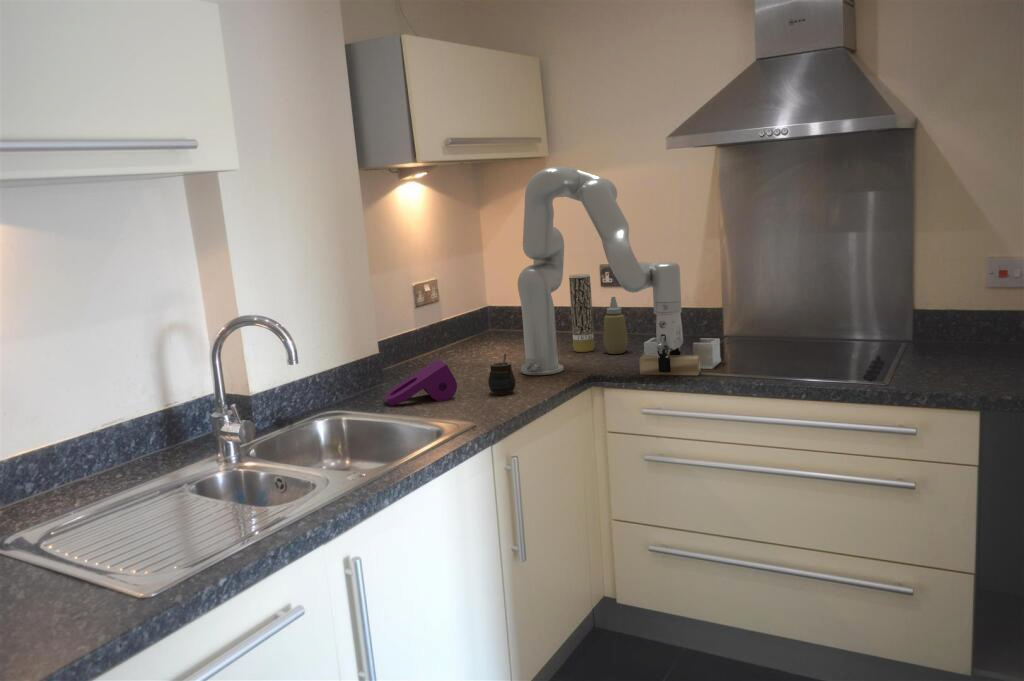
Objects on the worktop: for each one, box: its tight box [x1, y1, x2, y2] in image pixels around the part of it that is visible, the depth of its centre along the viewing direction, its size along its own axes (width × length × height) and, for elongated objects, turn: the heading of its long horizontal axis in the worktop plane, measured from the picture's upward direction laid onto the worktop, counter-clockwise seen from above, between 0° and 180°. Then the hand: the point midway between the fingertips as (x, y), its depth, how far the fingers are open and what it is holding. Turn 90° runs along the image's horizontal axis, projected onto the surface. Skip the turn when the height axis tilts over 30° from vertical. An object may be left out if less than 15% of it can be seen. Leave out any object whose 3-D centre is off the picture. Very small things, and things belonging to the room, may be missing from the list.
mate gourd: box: [487, 353, 517, 396], centre depth 225 cm, size 7×8×10 cm
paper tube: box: [568, 273, 595, 353], centre depth 276 cm, size 7×7×25 cm
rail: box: [638, 354, 701, 376], centre depth 235 cm, size 4×16×5 cm, turn 67°
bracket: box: [643, 337, 722, 370], centre depth 245 cm, size 10×20×7 cm, turn 63°
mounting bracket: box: [384, 358, 458, 407], centre depth 225 cm, size 9×8×18 cm
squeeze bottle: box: [602, 296, 629, 355], centre depth 269 cm, size 8×8×18 cm
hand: (670, 368), depth 235 cm, fingers open, 9 cm apart
